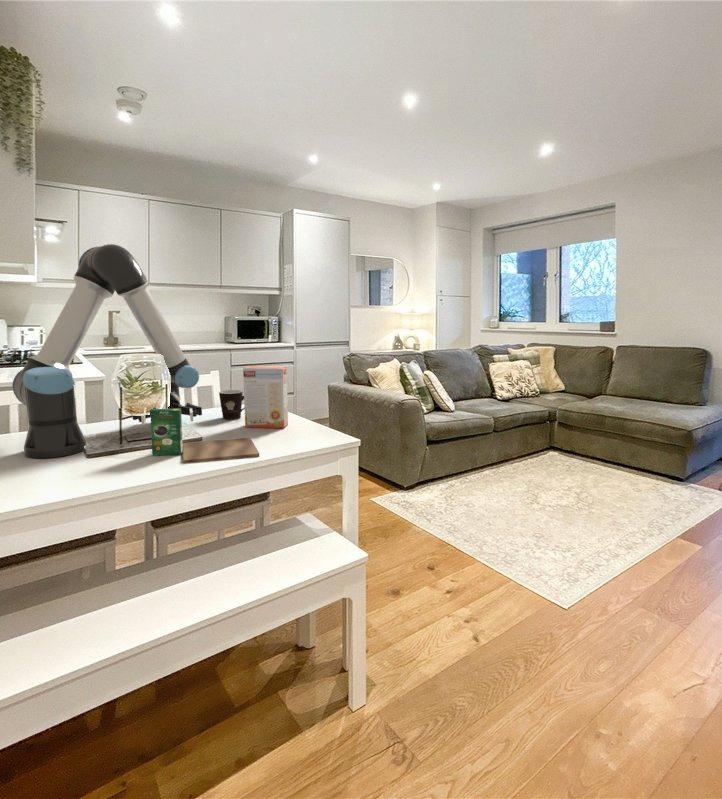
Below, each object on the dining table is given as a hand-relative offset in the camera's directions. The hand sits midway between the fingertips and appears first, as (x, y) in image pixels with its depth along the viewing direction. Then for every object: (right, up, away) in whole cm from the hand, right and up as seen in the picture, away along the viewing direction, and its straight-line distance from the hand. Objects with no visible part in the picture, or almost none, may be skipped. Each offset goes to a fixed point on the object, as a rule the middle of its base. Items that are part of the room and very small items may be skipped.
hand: (167, 418), depth 148 cm
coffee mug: (+11, -2, +38) cm, 39 cm away
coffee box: (+3, -10, -8) cm, 13 cm away
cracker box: (+25, -4, +26) cm, 36 cm away
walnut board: (+17, -9, -4) cm, 19 cm away
